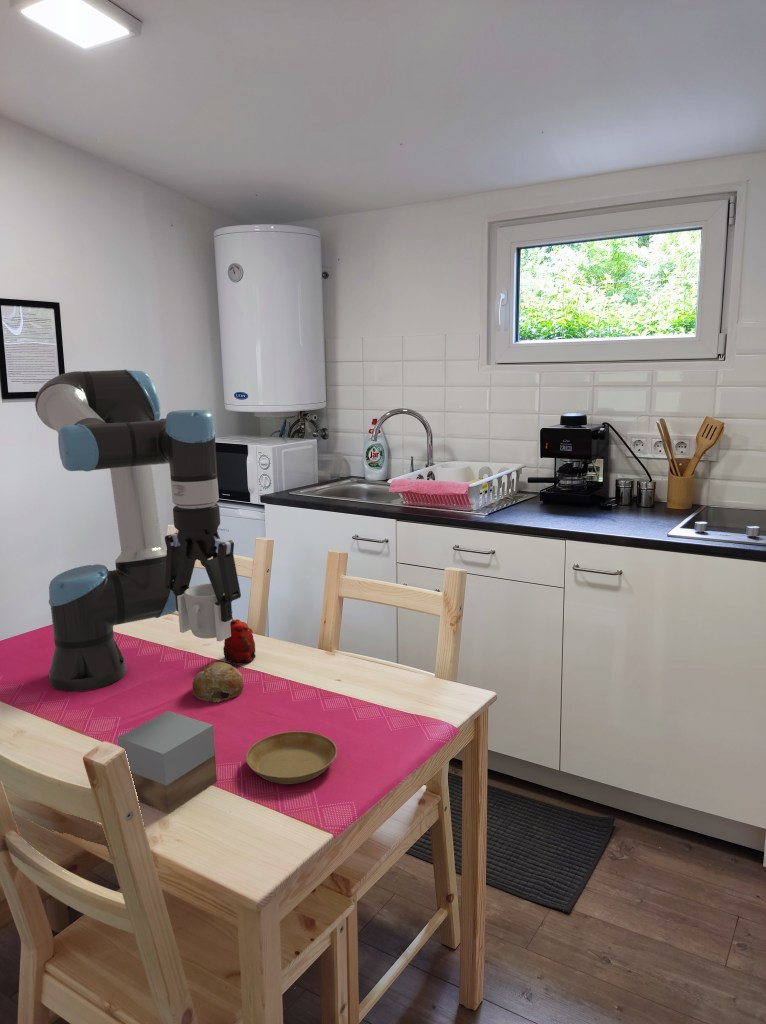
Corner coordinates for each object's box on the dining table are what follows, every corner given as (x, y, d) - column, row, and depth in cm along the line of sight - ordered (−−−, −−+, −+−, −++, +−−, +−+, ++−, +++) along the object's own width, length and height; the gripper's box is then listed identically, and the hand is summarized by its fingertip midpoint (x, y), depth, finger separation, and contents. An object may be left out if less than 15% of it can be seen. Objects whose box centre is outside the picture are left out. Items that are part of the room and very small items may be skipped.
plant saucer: (294, 736, 131) (293, 722, 131) (356, 762, 122) (355, 748, 122) (227, 771, 120) (226, 756, 120) (290, 803, 111) (289, 787, 111)
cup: (216, 649, 121) (213, 603, 120) (171, 647, 123) (167, 601, 121) (241, 627, 132) (238, 583, 130) (199, 625, 133) (196, 582, 132)
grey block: (120, 767, 113) (117, 737, 112) (170, 739, 121) (168, 710, 120) (166, 785, 108) (163, 754, 107) (215, 754, 116) (213, 725, 115)
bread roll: (198, 721, 145) (200, 693, 141) (185, 682, 152) (187, 655, 148) (247, 709, 150) (250, 682, 145) (232, 672, 157) (235, 645, 152)
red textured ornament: (259, 662, 164) (255, 597, 161) (227, 668, 161) (223, 602, 158) (251, 651, 171) (248, 588, 168) (221, 656, 168) (216, 592, 165)
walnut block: (123, 796, 114) (120, 767, 113) (172, 766, 122) (170, 738, 121) (168, 816, 109) (165, 785, 108) (217, 783, 117) (215, 754, 116)
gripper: (135, 503, 125) (146, 630, 130) (226, 513, 115) (235, 652, 119) (169, 495, 131) (178, 618, 136) (258, 505, 121) (266, 637, 125)
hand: (205, 634), depth 127 cm, fingers closed on cup, 8 cm apart
